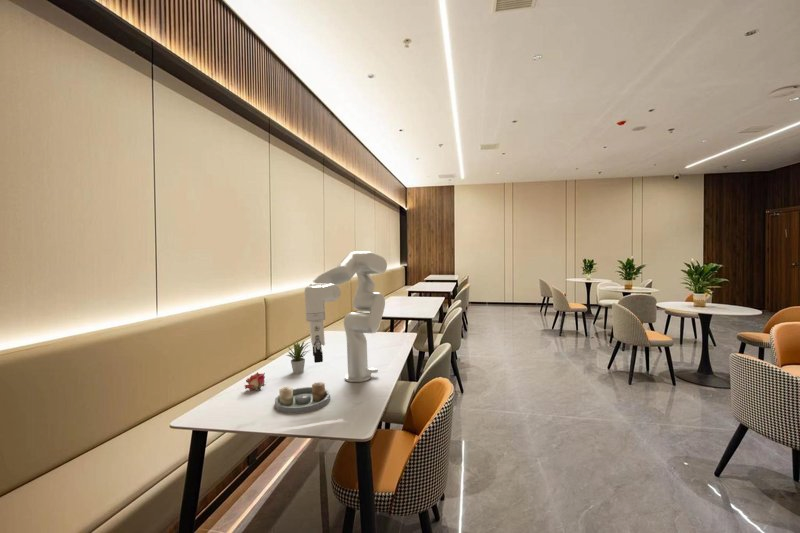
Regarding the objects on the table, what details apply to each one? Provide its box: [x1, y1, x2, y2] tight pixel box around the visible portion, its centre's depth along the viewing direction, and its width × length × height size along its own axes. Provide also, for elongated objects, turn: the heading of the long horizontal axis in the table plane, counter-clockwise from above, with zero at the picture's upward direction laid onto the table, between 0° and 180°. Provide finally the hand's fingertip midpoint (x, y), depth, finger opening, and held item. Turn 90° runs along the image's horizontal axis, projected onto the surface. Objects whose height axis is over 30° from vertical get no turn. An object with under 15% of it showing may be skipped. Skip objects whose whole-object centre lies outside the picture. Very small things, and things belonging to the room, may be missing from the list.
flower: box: [244, 372, 267, 391], centre depth 159 cm, size 10×9×8 cm
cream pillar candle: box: [278, 386, 294, 406], centre depth 141 cm, size 5×5×6 cm
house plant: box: [284, 340, 311, 374], centre depth 184 cm, size 14×14×16 cm
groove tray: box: [274, 386, 331, 414], centre depth 143 cm, size 21×21×3 cm
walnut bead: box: [311, 381, 326, 402], centre depth 144 cm, size 5×5×6 cm
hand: (317, 358), depth 144 cm, fingers open, 9 cm apart
